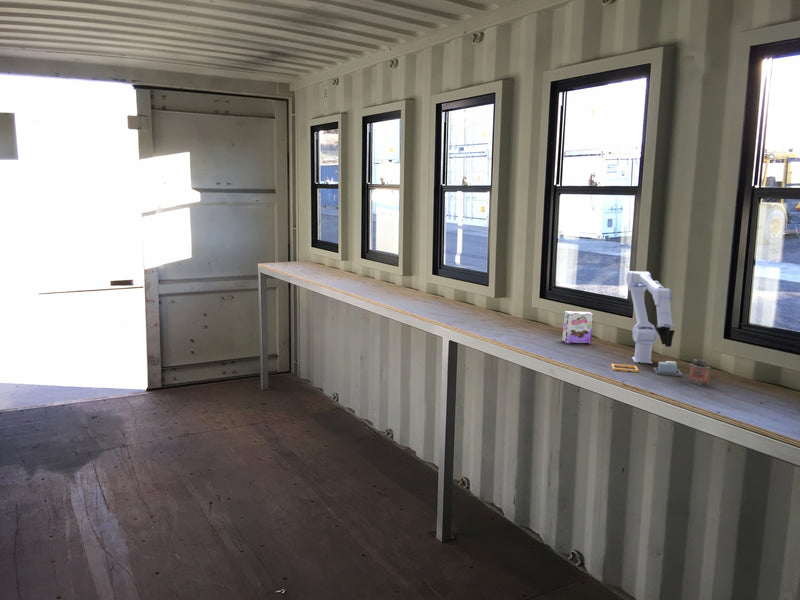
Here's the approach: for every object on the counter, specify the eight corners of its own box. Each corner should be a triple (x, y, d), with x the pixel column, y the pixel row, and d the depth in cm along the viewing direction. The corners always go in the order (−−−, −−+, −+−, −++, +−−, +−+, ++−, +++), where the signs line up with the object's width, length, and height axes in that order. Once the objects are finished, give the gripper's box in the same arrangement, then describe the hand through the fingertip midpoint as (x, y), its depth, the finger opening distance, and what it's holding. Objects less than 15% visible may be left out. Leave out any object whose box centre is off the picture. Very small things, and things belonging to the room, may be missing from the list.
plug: (657, 371, 285) (658, 359, 284) (674, 372, 283) (675, 361, 282) (659, 373, 280) (660, 362, 279) (676, 375, 279) (677, 363, 278)
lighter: (686, 381, 269) (689, 358, 267) (690, 380, 271) (693, 357, 269) (706, 386, 263) (708, 362, 261) (709, 384, 265) (712, 361, 263)
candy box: (565, 343, 335) (567, 312, 332) (561, 341, 340) (564, 310, 338) (591, 344, 335) (593, 313, 333) (587, 341, 341) (589, 311, 339)
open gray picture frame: (653, 369, 287) (653, 367, 286) (678, 371, 284) (678, 369, 284) (656, 374, 279) (656, 371, 279) (682, 376, 276) (682, 374, 276)
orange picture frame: (611, 365, 291) (611, 363, 290) (635, 368, 288) (636, 365, 288) (613, 370, 283) (613, 368, 283) (638, 372, 280) (638, 370, 280)
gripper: (670, 310, 274) (673, 342, 271) (676, 316, 286) (679, 346, 283) (653, 312, 278) (655, 343, 275) (660, 318, 290) (662, 348, 286)
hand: (666, 345), depth 279 cm, fingers open, 7 cm apart
